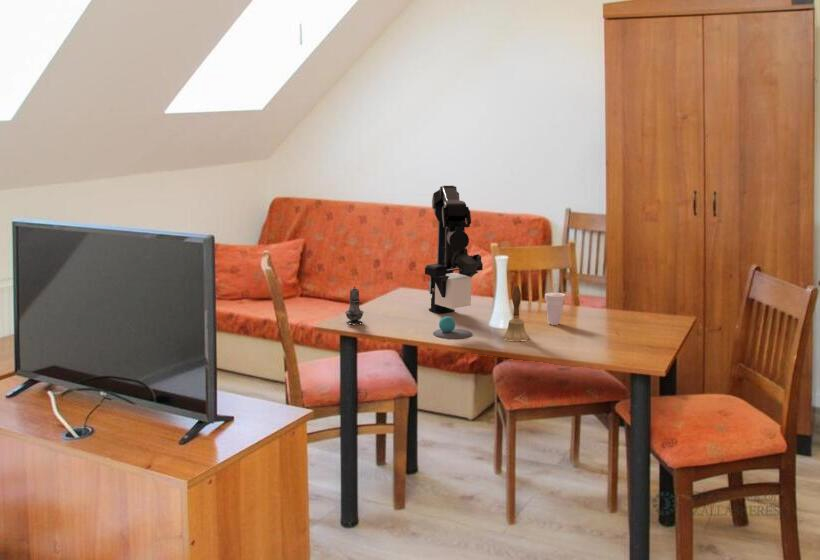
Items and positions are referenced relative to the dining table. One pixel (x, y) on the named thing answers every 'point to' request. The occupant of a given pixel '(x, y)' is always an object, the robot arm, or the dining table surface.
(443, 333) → the disc
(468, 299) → the white block
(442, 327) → the ball
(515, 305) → the hand bell
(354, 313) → the salt shaker
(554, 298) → the smoothie
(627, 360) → the dining table surface
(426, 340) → the dining table surface
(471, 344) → the dining table surface
